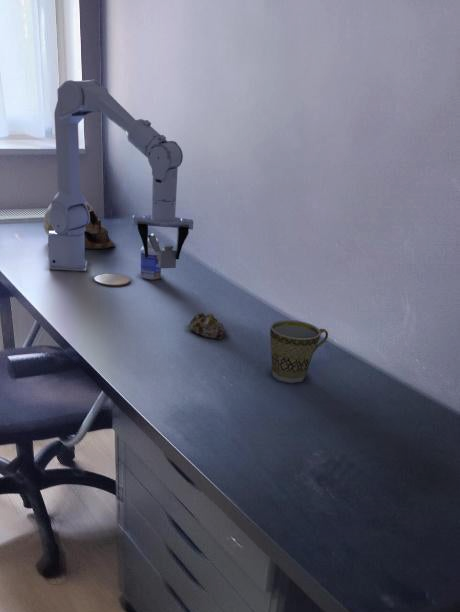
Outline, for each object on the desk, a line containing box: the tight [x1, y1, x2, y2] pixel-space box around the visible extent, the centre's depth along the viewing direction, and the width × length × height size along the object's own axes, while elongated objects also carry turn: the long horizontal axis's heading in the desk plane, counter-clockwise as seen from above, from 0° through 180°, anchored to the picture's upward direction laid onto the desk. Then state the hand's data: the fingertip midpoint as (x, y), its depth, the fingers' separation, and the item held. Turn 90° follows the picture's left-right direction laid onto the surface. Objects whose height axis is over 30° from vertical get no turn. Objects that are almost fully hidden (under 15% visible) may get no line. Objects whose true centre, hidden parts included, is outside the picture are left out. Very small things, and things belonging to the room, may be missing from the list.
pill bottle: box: [140, 237, 162, 281], centre depth 187 cm, size 5×5×10 cm
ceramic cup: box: [269, 319, 329, 384], centre depth 143 cm, size 13×10×10 cm
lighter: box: [148, 233, 177, 269], centre depth 176 cm, size 7×2×8 cm, turn 114°
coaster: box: [94, 273, 131, 287], centre depth 184 cm, size 9×9×1 cm
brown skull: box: [43, 201, 115, 250], centre depth 206 cm, size 16×17×13 cm
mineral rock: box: [188, 312, 226, 341], centre depth 160 cm, size 11×4×8 cm
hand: (161, 257), depth 177 cm, fingers closed on lighter, 7 cm apart
